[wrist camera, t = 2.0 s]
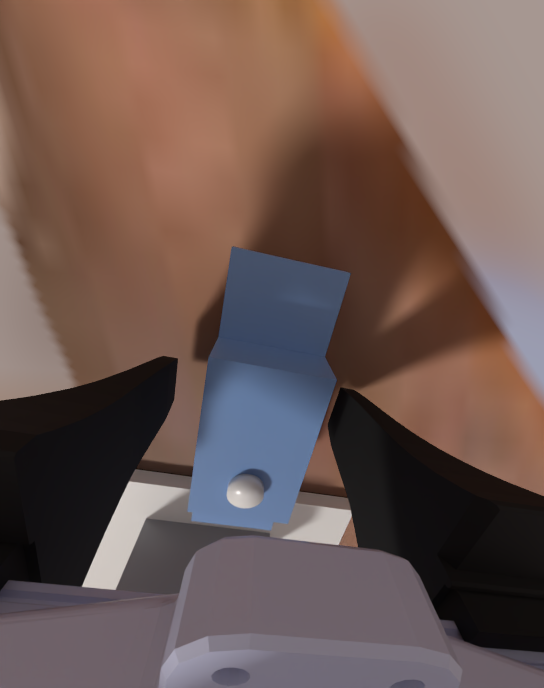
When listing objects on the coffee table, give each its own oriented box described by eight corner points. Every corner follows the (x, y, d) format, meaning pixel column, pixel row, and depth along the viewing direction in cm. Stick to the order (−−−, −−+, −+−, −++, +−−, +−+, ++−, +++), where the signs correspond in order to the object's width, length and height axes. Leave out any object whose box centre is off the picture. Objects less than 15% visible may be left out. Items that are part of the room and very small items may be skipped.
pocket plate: (349, 498, 16) (377, 581, 12) (288, 636, 22) (294, 724, 18) (71, 460, 14) (-1, 542, 11) (83, 620, 20) (39, 712, 16)
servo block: (326, 263, 11) (375, 282, 6) (269, 470, 15) (272, 580, 10) (241, 244, 11) (222, 248, 6) (206, 461, 15) (177, 570, 10)
